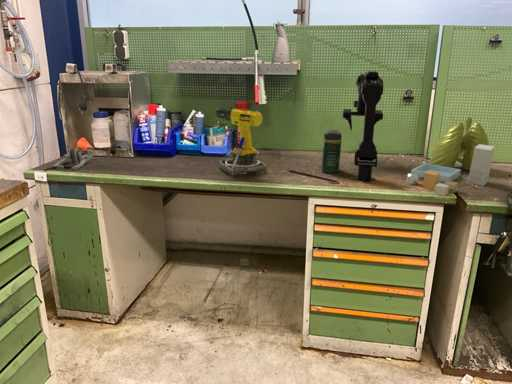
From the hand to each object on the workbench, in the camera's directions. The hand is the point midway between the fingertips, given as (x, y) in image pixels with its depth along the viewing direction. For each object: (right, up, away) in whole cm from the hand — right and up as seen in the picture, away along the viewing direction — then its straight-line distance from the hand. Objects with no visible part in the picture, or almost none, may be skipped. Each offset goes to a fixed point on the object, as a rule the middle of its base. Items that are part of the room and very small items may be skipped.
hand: (360, 130), depth 206 cm
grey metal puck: (+13, -27, -32) cm, 44 cm away
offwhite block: (+20, -31, -45) cm, 58 cm away
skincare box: (+42, -27, -30) cm, 58 cm away
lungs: (+44, -19, -8) cm, 48 cm away
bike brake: (-137, -19, -13) cm, 139 cm away
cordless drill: (-59, -20, -14) cm, 64 cm away
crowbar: (-28, -24, -25) cm, 45 cm away
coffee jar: (-18, -21, -15) cm, 31 cm away
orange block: (+19, -28, -37) cm, 50 cm away
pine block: (+25, -30, -41) cm, 57 cm away
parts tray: (+28, -23, -21) cm, 42 cm away
